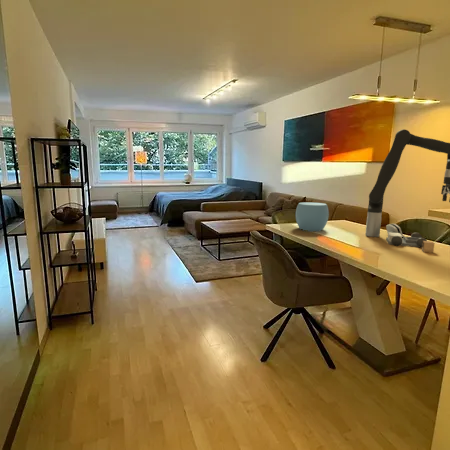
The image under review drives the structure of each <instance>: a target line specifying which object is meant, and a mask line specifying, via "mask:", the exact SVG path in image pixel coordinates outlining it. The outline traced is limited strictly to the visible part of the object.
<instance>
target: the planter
mask: <svg viewBox="0 0 450 450" xmlns="http://www.w3.org/2000/svg"><path fill="white" fill-rule="evenodd" d="M329 216H330V211H329V206H328V204H327V203H324V202H311V201H310V202H306V201H305V202H304V201H303V202H298V204H297V206H296V209H295V221H296V224H297V226H298V228H299V230H301V229H303V230H302V231H304V230H308V231H307V232H313V231H316V232H322V231H323V230H324V229H325V227H326V225H327V223H328V222H329ZM321 230H322V231H321Z"/></svg>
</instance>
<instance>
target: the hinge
mask: <svg viewBox="0 0 450 450" xmlns="http://www.w3.org/2000/svg"><path fill="white" fill-rule="evenodd" d="M385 227H386V228H385V229H386V231H387V232H386V233H387V234H388V232H390V231H395V232H397V233H400V234H401V235H402V236H403V237H406V236H405V235H404V234H403V232H402V228H401V227H400V226H399V225H397V224H396V223H389V224H387V225H385Z"/></svg>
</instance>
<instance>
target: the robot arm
mask: <svg viewBox="0 0 450 450" xmlns="http://www.w3.org/2000/svg"><path fill="white" fill-rule="evenodd" d="M408 145H409V146H413V147H414V146H415V147H418V148H422V149H426V150H428V151H433V152H436V153H443V154H446V155H447V156H446V157H447V158H446V164H445V165H446V166H445V171H444V175H443V182H442V183H443V184H442V187H441V193H440V194H441V195H442V199H441V200H442V202H447V198H448V195H450V142H446V141H444V140H443V141H442V140H439V139H434V138H429V137H424V136H423V137H422V136H419V135H415V134H413V133H411V132H410V131H409V130H408V129H399V131H397V132H396V133H395V136H394V139H393V142H392V145H391V148H390V150H389V152H388V153H387V155H386V157H385V159H384V161H383V162H382V165H381V167H380V170H379V173H378V176H377V179H376V181H375V183H374V186H373V188H372V189H371V191H370V192H369V194H368V207H367V215H366V216H367V217H366V221H365V222H366V224H365V225H366V226H365V237H371V238H372V237H373V238H378V237H380V234H381V225H382V224H381V223H382V213H383V204H384V195H385V192H386V189H387V187H388V185H389V183H390V181H391V180H392V178H393V177H394V175H395V173H396V170H397V169H398V166H399V164H400V161H401V157H402V154H403V152H404V150H405V148H406V146H408ZM448 201H449V203H450V198H449V200H448Z"/></svg>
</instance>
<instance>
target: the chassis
mask: <svg viewBox="0 0 450 450" xmlns="http://www.w3.org/2000/svg"><path fill="white" fill-rule="evenodd" d="M403 236H404V235H403ZM403 236H402V235H401V234H400V233H397V232H395V231H390V232H388V233H387V237H386V238H385V239H386V242H387V244H388V245H392V246H396V247H398V246H402V247H403V246H405V247H414V248H415V247H416V248H421V249H422V242H423V241H428V240H427V239H426V238H424V237H422V235H421V233H420V232H413V233H411V235H410V236H405V237H403ZM402 237H403V238H402Z"/></svg>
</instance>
